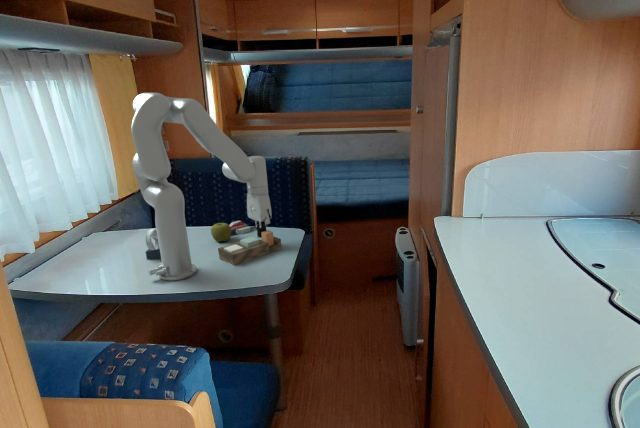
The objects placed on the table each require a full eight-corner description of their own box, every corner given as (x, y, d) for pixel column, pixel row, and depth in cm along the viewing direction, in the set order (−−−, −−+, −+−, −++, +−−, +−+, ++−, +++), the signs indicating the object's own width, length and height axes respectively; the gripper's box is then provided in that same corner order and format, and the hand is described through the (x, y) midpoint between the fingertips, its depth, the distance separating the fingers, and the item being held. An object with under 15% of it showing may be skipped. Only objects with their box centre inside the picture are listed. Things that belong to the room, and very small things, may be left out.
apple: (213, 238, 194) (211, 222, 192) (233, 237, 194) (231, 220, 192) (211, 245, 186) (209, 228, 184) (231, 243, 187) (229, 226, 185)
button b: (248, 250, 171) (247, 243, 170) (240, 247, 175) (240, 240, 174) (259, 247, 174) (258, 239, 173) (252, 243, 178) (251, 236, 177)
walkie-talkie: (225, 240, 192) (266, 228, 204) (224, 229, 191) (265, 218, 203) (215, 235, 199) (255, 223, 211) (214, 225, 198) (254, 214, 210)
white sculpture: (168, 253, 181) (163, 225, 177) (158, 261, 173) (153, 233, 170) (154, 253, 181) (149, 226, 178) (144, 261, 174) (139, 233, 170)
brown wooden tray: (233, 265, 165) (232, 255, 164) (219, 258, 172) (218, 248, 171) (281, 248, 178) (280, 239, 177) (266, 242, 185) (265, 233, 184)
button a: (232, 259, 167) (231, 251, 166) (224, 255, 171) (223, 248, 170) (244, 255, 170) (243, 247, 169) (236, 251, 174) (235, 244, 173)
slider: (267, 246, 175) (265, 234, 174) (262, 244, 177) (261, 232, 176) (274, 244, 177) (272, 231, 176) (269, 242, 179) (268, 230, 178)
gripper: (238, 188, 177) (243, 234, 182) (260, 195, 166) (265, 243, 171) (254, 185, 181) (259, 229, 187) (278, 190, 171) (281, 238, 176)
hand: (262, 236), depth 179 cm, fingers closed
